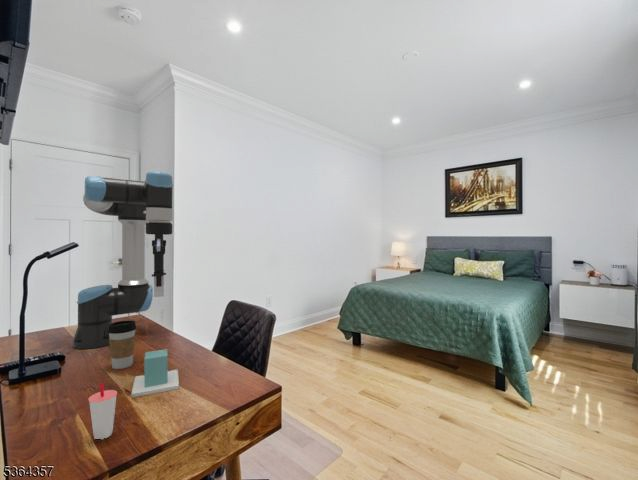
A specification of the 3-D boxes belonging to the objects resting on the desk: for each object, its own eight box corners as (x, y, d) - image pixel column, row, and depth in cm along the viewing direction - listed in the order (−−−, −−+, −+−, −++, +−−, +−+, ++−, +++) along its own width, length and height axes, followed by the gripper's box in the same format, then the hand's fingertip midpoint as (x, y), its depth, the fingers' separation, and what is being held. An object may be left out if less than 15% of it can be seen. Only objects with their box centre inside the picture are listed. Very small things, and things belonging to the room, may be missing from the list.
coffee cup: (122, 371, 103) (122, 326, 103) (101, 369, 104) (101, 324, 104) (142, 361, 111) (142, 319, 111) (121, 359, 113) (121, 318, 112)
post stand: (135, 379, 97) (135, 354, 97) (177, 372, 103) (177, 348, 102) (131, 397, 86) (131, 369, 86) (178, 388, 92) (178, 361, 92)
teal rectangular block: (145, 378, 96) (145, 352, 96) (167, 375, 98) (167, 349, 98) (144, 387, 90) (144, 359, 90) (167, 383, 93) (167, 355, 93)
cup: (82, 439, 69) (82, 385, 69) (106, 425, 74) (106, 375, 74) (99, 445, 67) (99, 389, 67) (122, 430, 72) (122, 379, 72)
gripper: (147, 221, 103) (147, 293, 104) (143, 221, 91) (143, 301, 92) (172, 222, 106) (172, 291, 107) (172, 222, 94) (171, 299, 95)
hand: (158, 296), depth 99 cm, fingers closed
